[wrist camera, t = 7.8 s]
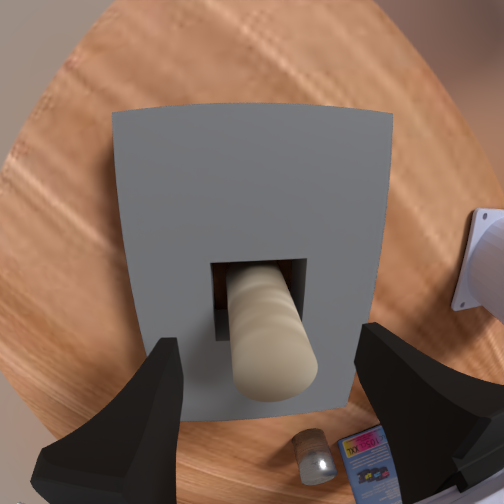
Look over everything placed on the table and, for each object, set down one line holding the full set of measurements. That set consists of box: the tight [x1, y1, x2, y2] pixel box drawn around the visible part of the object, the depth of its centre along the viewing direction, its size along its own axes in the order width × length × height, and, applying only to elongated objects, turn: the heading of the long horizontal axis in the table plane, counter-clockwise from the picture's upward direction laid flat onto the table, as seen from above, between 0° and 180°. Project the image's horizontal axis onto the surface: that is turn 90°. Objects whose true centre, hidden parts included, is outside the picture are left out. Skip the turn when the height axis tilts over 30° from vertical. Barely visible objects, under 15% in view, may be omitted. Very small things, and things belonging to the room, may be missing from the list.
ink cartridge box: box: [338, 425, 402, 504], centre depth 21 cm, size 10×6×14 cm, turn 23°
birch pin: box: [226, 260, 318, 402], centre depth 14 cm, size 3×3×8 cm
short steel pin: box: [292, 428, 337, 485], centre depth 23 cm, size 3×3×4 cm
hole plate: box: [112, 103, 393, 422], centre depth 17 cm, size 12×18×3 cm, turn 0°
